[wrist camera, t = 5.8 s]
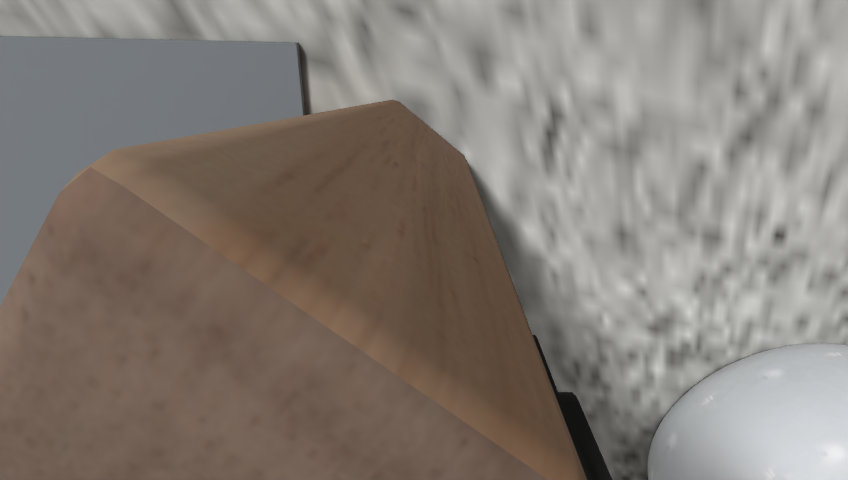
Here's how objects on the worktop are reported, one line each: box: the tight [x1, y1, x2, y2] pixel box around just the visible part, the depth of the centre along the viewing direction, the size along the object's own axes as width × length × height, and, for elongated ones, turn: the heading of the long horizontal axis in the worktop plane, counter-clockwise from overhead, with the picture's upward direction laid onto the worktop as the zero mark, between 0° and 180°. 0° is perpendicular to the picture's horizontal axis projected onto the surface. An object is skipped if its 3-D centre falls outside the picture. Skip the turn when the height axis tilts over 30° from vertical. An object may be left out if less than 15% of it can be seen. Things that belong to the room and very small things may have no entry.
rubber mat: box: [0, 36, 305, 306], centre depth 21 cm, size 21×14×1 cm, turn 89°
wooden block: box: [0, 100, 587, 480], centre depth 12 cm, size 9×4×18 cm, turn 141°
